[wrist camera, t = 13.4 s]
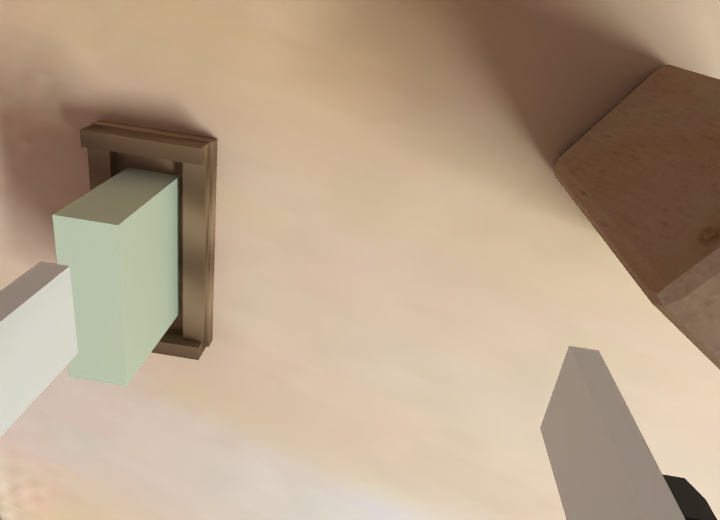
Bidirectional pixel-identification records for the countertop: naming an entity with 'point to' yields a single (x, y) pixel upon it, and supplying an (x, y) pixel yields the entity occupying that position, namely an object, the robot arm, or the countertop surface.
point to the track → (197, 214)
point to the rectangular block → (121, 271)
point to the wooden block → (659, 195)
